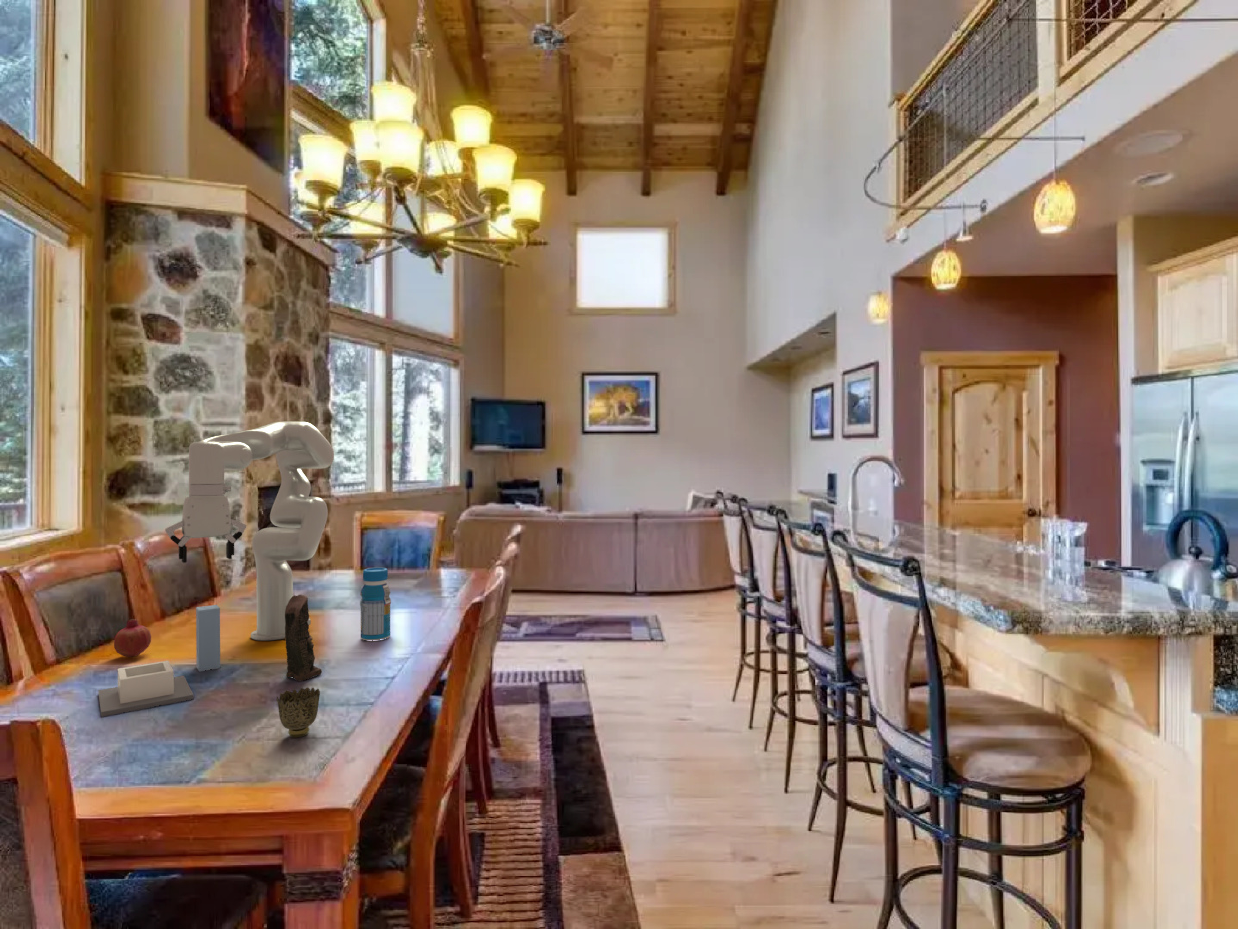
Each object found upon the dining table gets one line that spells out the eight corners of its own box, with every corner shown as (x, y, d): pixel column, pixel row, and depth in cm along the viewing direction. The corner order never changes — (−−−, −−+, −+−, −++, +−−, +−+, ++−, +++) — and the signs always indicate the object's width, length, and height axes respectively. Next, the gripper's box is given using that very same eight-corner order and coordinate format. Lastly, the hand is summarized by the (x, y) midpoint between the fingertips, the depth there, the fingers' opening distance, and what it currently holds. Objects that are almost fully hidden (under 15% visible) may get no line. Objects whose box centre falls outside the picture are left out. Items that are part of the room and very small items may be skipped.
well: (183, 679, 161) (183, 654, 161) (193, 699, 148) (193, 671, 148) (98, 694, 151) (98, 667, 151) (101, 717, 138) (101, 687, 138)
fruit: (131, 662, 174) (131, 623, 173) (105, 660, 175) (105, 621, 175) (159, 653, 182) (158, 616, 181) (133, 651, 183) (133, 614, 183)
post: (217, 663, 173) (216, 604, 173) (220, 668, 170) (219, 608, 170) (196, 667, 170) (196, 607, 170) (199, 671, 167) (198, 610, 167)
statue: (323, 674, 165) (322, 592, 165) (300, 683, 159) (300, 598, 158) (300, 671, 168) (300, 590, 167) (277, 680, 161) (277, 596, 160)
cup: (286, 727, 134) (286, 687, 134) (325, 726, 134) (325, 686, 134) (270, 743, 126) (270, 701, 126) (311, 742, 127) (311, 699, 127)
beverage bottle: (366, 644, 191) (366, 573, 191) (355, 637, 198) (355, 569, 197) (395, 638, 197) (395, 569, 197) (384, 632, 203) (383, 565, 203)
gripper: (243, 489, 178) (243, 555, 178) (163, 491, 167) (163, 561, 167) (249, 491, 172) (249, 559, 172) (166, 493, 161) (167, 565, 161)
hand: (207, 560), depth 169 cm, fingers open, 9 cm apart
